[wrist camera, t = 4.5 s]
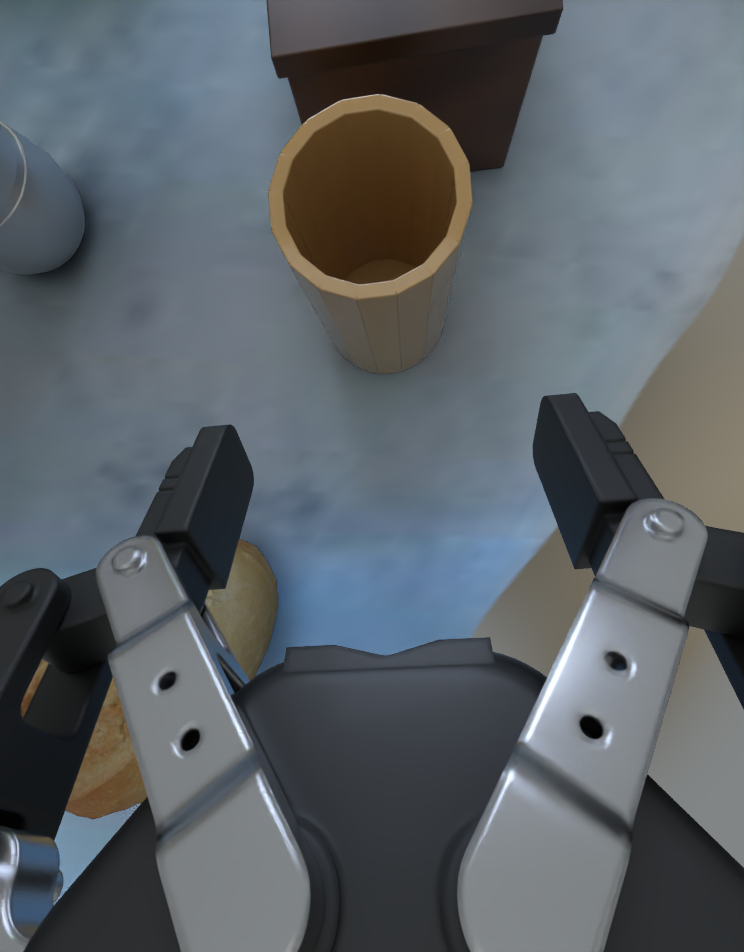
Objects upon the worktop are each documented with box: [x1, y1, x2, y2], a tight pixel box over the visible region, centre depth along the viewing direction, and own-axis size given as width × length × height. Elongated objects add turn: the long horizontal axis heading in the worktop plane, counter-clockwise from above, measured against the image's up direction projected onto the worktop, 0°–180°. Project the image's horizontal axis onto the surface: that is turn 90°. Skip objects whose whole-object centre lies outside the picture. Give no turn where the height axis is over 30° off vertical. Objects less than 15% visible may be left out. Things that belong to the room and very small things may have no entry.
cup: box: [268, 94, 473, 374], centre depth 19 cm, size 6×6×10 cm
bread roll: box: [21, 539, 278, 819], centre depth 21 cm, size 10×15×8 cm, turn 144°
